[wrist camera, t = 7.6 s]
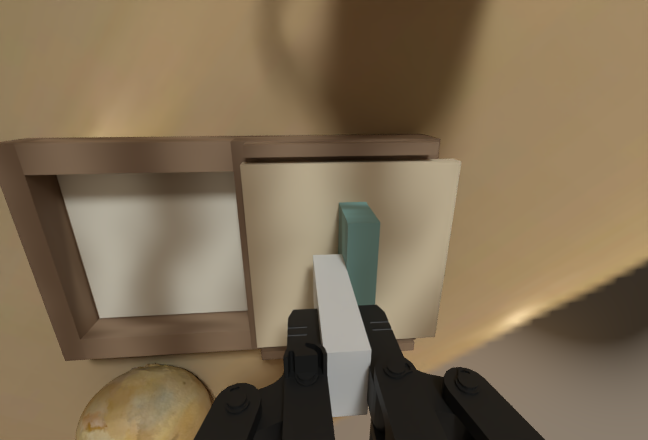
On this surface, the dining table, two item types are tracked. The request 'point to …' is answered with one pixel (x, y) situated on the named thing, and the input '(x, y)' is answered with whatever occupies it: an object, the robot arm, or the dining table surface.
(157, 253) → the brown sliding lid box
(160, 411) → the onion
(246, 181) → the cover
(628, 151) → the dining table surface
